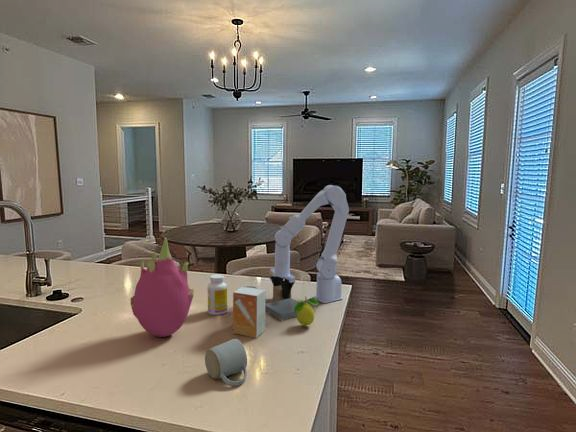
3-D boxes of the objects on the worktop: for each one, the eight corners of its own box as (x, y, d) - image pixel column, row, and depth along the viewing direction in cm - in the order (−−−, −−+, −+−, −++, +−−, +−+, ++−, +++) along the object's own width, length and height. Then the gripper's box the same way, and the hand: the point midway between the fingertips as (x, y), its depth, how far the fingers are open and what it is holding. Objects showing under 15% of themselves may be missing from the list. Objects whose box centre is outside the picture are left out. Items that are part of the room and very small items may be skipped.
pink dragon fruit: (195, 324, 120) (194, 231, 117) (192, 343, 107) (190, 239, 104) (137, 327, 117) (134, 232, 114) (126, 347, 104) (122, 240, 101)
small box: (232, 333, 114) (232, 291, 112) (242, 326, 119) (242, 286, 118) (256, 338, 111) (257, 295, 109) (265, 330, 116) (266, 289, 115)
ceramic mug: (202, 372, 92) (202, 342, 91) (231, 362, 97) (231, 333, 96) (225, 393, 84) (225, 360, 83) (255, 380, 89) (256, 349, 88)
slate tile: (291, 303, 141) (291, 298, 141) (310, 313, 131) (310, 307, 131) (263, 309, 135) (263, 303, 134) (281, 320, 125) (281, 314, 124)
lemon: (318, 324, 122) (318, 294, 121) (313, 331, 116) (314, 300, 115) (298, 321, 124) (299, 292, 123) (292, 328, 119) (293, 297, 117)
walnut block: (283, 296, 148) (283, 284, 148) (290, 300, 144) (291, 287, 143) (272, 299, 145) (273, 286, 145) (279, 303, 141) (280, 290, 141)
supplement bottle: (231, 310, 133) (230, 275, 131) (220, 317, 127) (219, 280, 125) (215, 307, 136) (215, 272, 134) (203, 313, 130) (203, 277, 128)
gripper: (263, 259, 147) (263, 292, 148) (283, 267, 135) (283, 303, 136) (278, 257, 151) (278, 289, 152) (300, 264, 139) (299, 300, 140)
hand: (281, 296), depth 145 cm, fingers closed on walnut block, 5 cm apart
